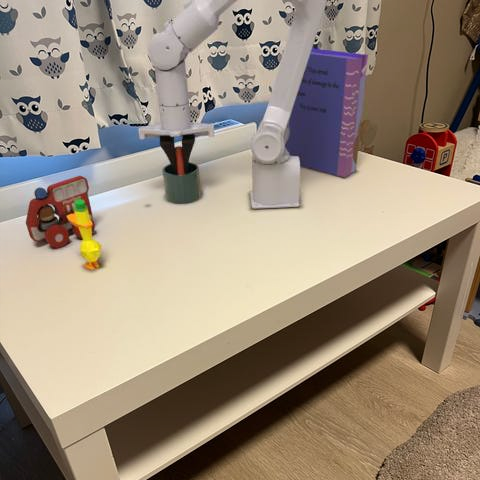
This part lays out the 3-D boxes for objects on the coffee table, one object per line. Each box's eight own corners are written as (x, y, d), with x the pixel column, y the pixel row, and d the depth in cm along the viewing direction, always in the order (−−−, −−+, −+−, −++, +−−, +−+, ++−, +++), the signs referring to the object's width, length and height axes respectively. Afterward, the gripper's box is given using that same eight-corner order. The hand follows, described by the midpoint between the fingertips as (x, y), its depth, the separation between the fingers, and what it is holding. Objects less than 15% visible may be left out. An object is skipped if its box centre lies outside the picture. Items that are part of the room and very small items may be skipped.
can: (201, 188, 113) (199, 161, 109) (200, 202, 107) (198, 174, 104) (167, 189, 113) (164, 162, 109) (164, 204, 107) (160, 176, 104)
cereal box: (355, 171, 118) (368, 53, 103) (344, 178, 115) (355, 58, 100) (292, 155, 127) (296, 45, 112) (281, 161, 124) (282, 49, 110)
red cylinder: (186, 179, 109) (182, 146, 105) (185, 182, 107) (182, 148, 103) (178, 180, 109) (174, 146, 105) (178, 183, 107) (174, 149, 103)
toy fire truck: (26, 241, 96) (9, 187, 90) (87, 220, 103) (75, 168, 96) (41, 255, 92) (24, 199, 86) (104, 232, 98) (93, 179, 92)
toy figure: (71, 263, 89) (54, 198, 82) (88, 255, 91) (73, 190, 84) (95, 277, 86) (79, 209, 78) (112, 268, 88) (98, 201, 81)
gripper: (132, 110, 96) (143, 181, 104) (211, 107, 96) (216, 178, 104) (137, 100, 101) (147, 168, 109) (212, 96, 101) (216, 165, 109)
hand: (181, 172), depth 107 cm, fingers closed on red cylinder, 1 cm apart
